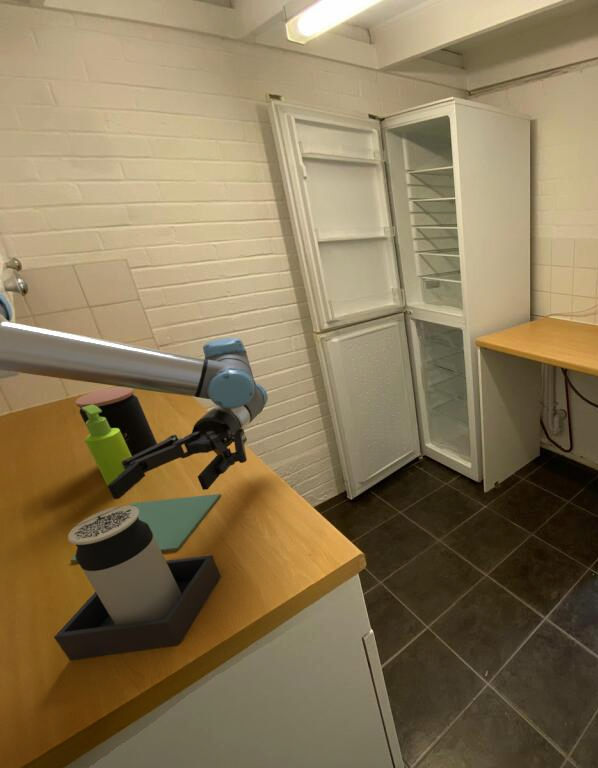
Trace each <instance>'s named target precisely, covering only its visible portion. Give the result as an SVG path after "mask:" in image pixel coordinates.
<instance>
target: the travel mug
mask: <svg viewBox="0 0 598 768" xmlns="http://www.w3.org/2000/svg"><path fill="white" fill-rule="evenodd" d="M138 516H139V510H138V508H136V507H134V506H129V505H119V506H114V507H110V508H107V509H104V510H101V511H99V512H96V513H94V514H92V515H90V516H88V517H86V518H85V519H83V520H82V521H79V523H77V524H76V525H74V526H73V528H72V529H71V530H70V531H69V533H68V535H67V541H68V542H69V543H70V544H72V545H75V546H76V547H77V548H76V551H75V555H76V559H77V561H78V562H77V563H78V565H79V566H80V568H81V569H82V571H83V573H84V575H85V577H86V578H87V580H88V581H89V583H90V585H91V586H92V588H93V590H94V591H95V592H96V593H97V595H98V596H99V598H100V600H101V601H102V603H103V605H104V607H105V608H106V610H107V612H108V613H109V615H110V617H111V618H112V620H113V622H114V623H115V625H120V624H128V623H135V622H143V621H150V620H158V619H165V618H166V616H167V615H168V614H169V612H170V611H171V609H172V608H173V606H174V605H175V603H176V602H177V600H178V599H179V598H180V596H181V595H182V594H181V592H180V589H179V587H178V585H177V583H176V581H175V579H174V577H173V575H172V573H171V571H170V569H169V567H168V565H167V562H166V561H167V560H166V558H165V556H164V554H163V552H161V550H160V548H159V546H158V544H157V542H156V540H155V538H154V535H153V533H152V531H151V529H150V527H149V525H148V524H147V523H145V522H143V521H141V520H139V517H138Z"/></svg>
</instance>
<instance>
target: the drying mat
mask: <svg viewBox="0 0 598 768" xmlns="http://www.w3.org/2000/svg"><path fill="white" fill-rule="evenodd" d="M221 496H222V495H221V493H215V494H206V495H197V496H196V495H195V496H186V497H177V498H167V499H157V500H147V501H140V502H139V501H138V502H130V504H129V505H128V506H134V507H136V508H138V510H139V516H138V517H139V520H141V521H143V522H145V523H147V524H148V525H149V527H150V529H151V531H152V533H153V535H154V538H155V540H156V542H157V544H158V546H159V548H160V550H161V552H162V553H167V552H174V551H179V550H180V549H181V547H182V546H183V545H184V544H185V543H186V541H187V540H188V538H189V537H190V536H191V535H192V533H194V531H195V530H196V529H197V527H198V526H199V525H200V523H201V522H202V521H203V520H204V518H205V517H206V516H207V514H208V513H209V512H210V510H211V509H213V507H214V506H215V504H216V503H217V502H218V500H219V499H220V498H221ZM70 563H78V561H77V559H76V554H75V555H74V556H73V557H72V558H71V559H70Z"/></svg>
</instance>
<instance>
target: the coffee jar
mask: <svg viewBox="0 0 598 768" xmlns="http://www.w3.org/2000/svg"><path fill="white" fill-rule="evenodd" d="M74 404H75V406H77V407H78V408H80V409H79V414H80V416H81V418H82V420H83V422H84V424H85V423H86V422H87V421H88V420H89V418H88V416H87V414H86V412H85V411H83V410H82V407H85V406H89V405H92V404H93V405H95V406H97V407H98V408H99V409H101V410H102V412H101V413H98V415H99V417H105V418H106V419H107V422H108V424H109V426H110V428H118V429H119V430H120V432H121V434H122V436H123V438H124V440H125V443H126V445H127V447H128V449H129V451H130V453H131V455H132V456H134V455H136V454H138V453H140V452H142V451H144V450H146V449H148V448H150V447H152V446H154V445H156V444H158V442H157V440H156V438H155V436H154V433H153V430H152V429H151V426H150V424H149V421H148V420H147V417H146V414H145V412H144V410H143V407H142V405H141V403H140V401H139V398H138V396H136V395H135V389H134V388H127V387H120V386H112V387H107V388H103V389H98V390H94V391H92V392H88V393H86V394H83V395H82V396H81V395H80V397H78V398H77V399H75V401H74Z"/></svg>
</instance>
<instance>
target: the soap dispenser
mask: <svg viewBox="0 0 598 768" xmlns="http://www.w3.org/2000/svg"><path fill="white" fill-rule="evenodd" d="M82 410H83V411H85V412H86V414H87V416H88V418H89V420H88V421H87V422H86V423H85V422H84V424H85V426H86V429H87V430H88V433H89V434H88V435H86V437H85V438H84V439H83V440H84V442H85V445H86V446H87V448H88V450H89V452H90V455H91V456H92V458H93V460H94V462H95V464H96V466H97V469H98V470H99V472H100V474H101V476H102V478H103V480H104V482H105V484H106V487H108V485H109V484H110V483H111V482H113V481H114V480H115V479H116V478H117V477H118V475H120V474H121V473H122V472H123V471H125V469H124V467H123V465H122V463H121V462H122V461H123V460H125V459H128V458H130V457H132V455H131V453H130V451H129V449H128V447H127V445H126V443H125V440H124V438H123V436H122V434H121V432H120V430H119V429H118V428H110V426H109V424H108V422H107V419H106V418H105V417H99V415H98V413H101V412H102V410H101V409H99V408H98V407H97V406H95V405H93V404H92V405H89V406H85V407H82ZM139 482H140V481H138V482H137V483H139Z"/></svg>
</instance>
